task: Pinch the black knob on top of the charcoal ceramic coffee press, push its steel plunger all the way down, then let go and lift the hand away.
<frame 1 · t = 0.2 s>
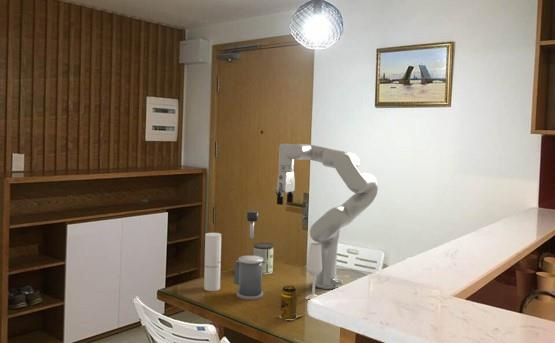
hand: (284, 203, 244), 37 cm above the table, tool pointing down, fingers open, 9 cm apart
champagne flute: (313, 298, 216), on the table
press housing: (249, 295, 216), on the table
plunger: (252, 225, 214), point 31 cm above the table, slide at 9.0 cm
cylindrical container: (212, 288, 224), on the table
condiment: (290, 317, 193), on the table
coffee can: (262, 272, 254), on the table
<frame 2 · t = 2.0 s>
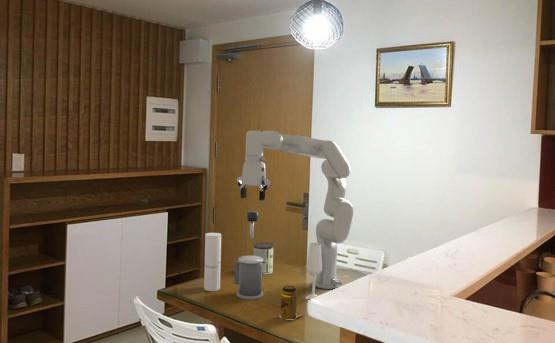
hand: (252, 199, 213), 43 cm above the table, tool pointing down, fingers open, 9 cm apart
nothing on the table moved.
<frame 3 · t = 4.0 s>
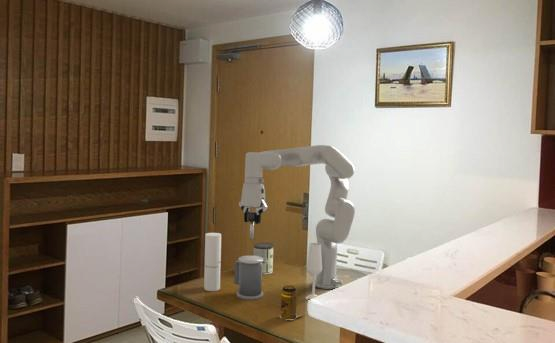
hand: (252, 222, 214), 33 cm above the table, tool pointing down, fingers closed on plunger, 5 cm apart
plunger: (252, 225, 214), point 31 cm above the table, slide at 9.0 cm, touching gripper
everything else where it was.
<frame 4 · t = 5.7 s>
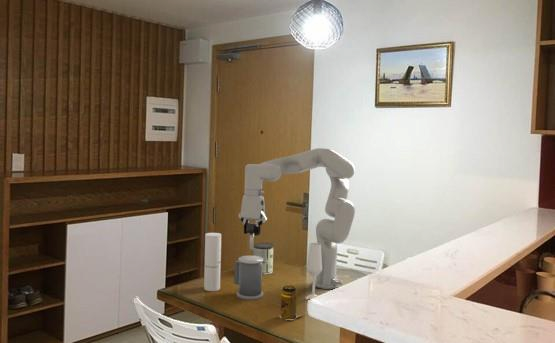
hand: (251, 233, 214), 27 cm above the table, tool pointing down, fingers closed on plunger, 5 cm apart
plunger: (251, 236, 214), point 26 cm above the table, slide at 3.9 cm, touching gripper
everything else where it was.
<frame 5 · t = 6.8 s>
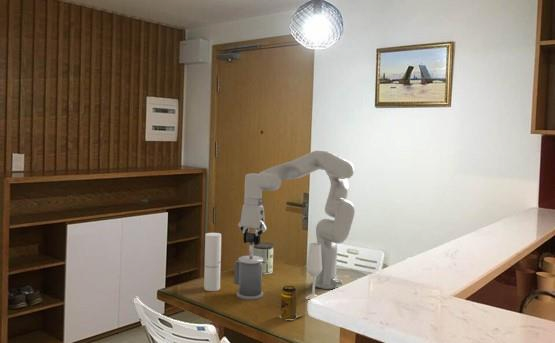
hand: (251, 243, 215), 23 cm above the table, tool pointing down, fingers closed on plunger, 5 cm apart
plunger: (251, 245, 215), point 22 cm above the table, slide at -0.2 cm, touching gripper, press housing
everything else where it was.
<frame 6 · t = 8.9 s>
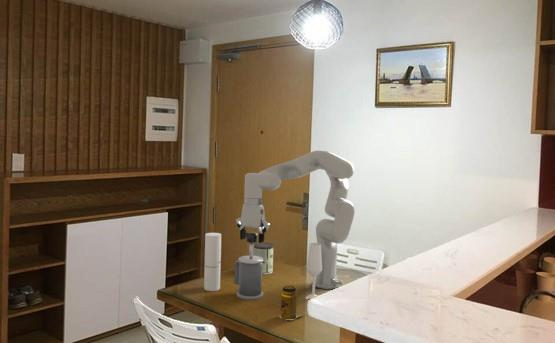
hand: (252, 240, 215), 24 cm above the table, tool pointing down, fingers open, 9 cm apart
plunger: (251, 245, 215), point 22 cm above the table, slide at -0.2 cm
everything else where it was.
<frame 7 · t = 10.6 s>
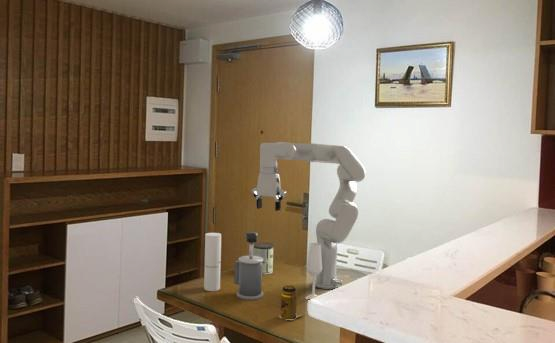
hand: (268, 209, 219), 38 cm above the table, tool pointing down, fingers open, 9 cm apart
nothing on the table moved.
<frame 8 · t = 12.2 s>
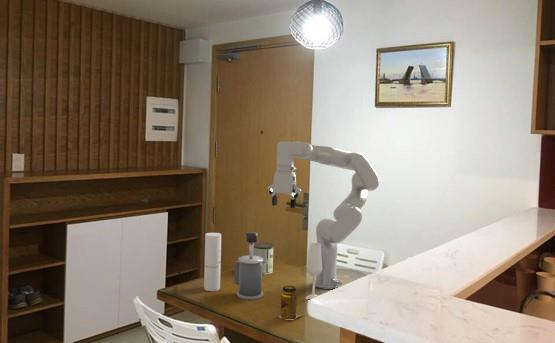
hand: (283, 206, 224), 38 cm above the table, tool pointing down, fingers open, 9 cm apart
nothing on the table moved.
at the end: plunger slide at -0.2 cm; the gripper is holding nothing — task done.
